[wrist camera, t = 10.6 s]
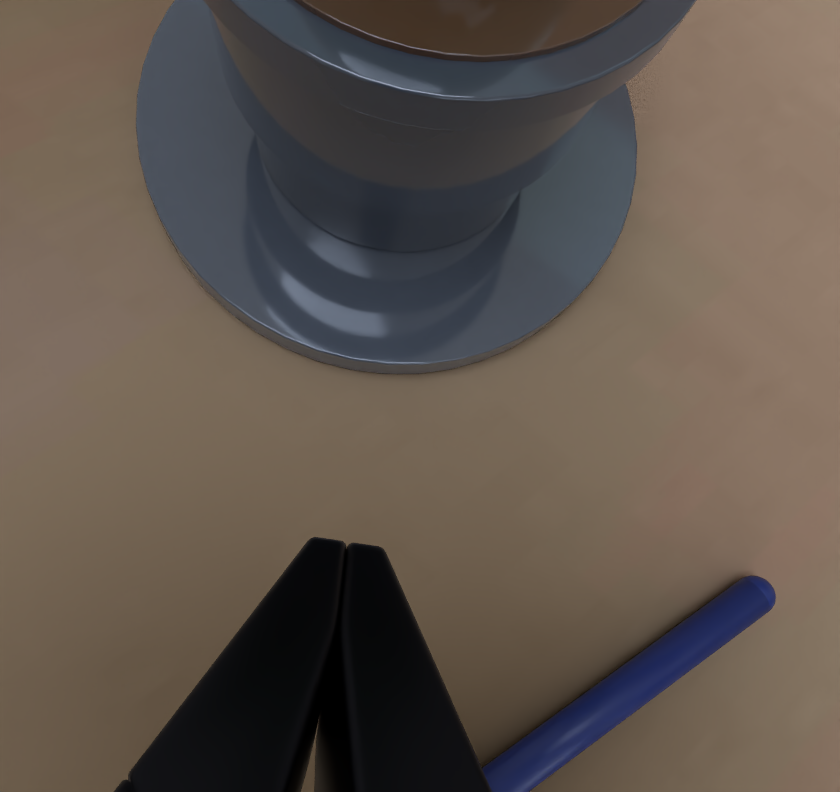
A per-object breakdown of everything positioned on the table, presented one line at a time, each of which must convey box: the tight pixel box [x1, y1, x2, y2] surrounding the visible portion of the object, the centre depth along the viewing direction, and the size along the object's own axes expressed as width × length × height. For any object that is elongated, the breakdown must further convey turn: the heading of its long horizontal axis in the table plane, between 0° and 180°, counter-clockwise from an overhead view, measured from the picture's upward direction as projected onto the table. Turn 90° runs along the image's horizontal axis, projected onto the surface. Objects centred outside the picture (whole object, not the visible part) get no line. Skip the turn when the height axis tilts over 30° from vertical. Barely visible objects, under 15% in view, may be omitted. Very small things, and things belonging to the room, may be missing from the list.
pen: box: [482, 576, 776, 792], centre depth 20 cm, size 14×1×1 cm
